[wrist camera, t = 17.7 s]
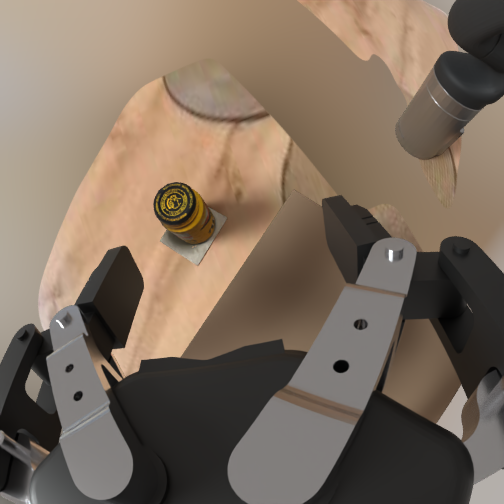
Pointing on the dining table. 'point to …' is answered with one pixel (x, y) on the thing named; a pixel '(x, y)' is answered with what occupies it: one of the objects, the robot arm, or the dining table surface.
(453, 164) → the dining table surface
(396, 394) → the cubby
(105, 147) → the dining table surface
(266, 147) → the dining table surface
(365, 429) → the robot arm
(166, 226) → the condiment
